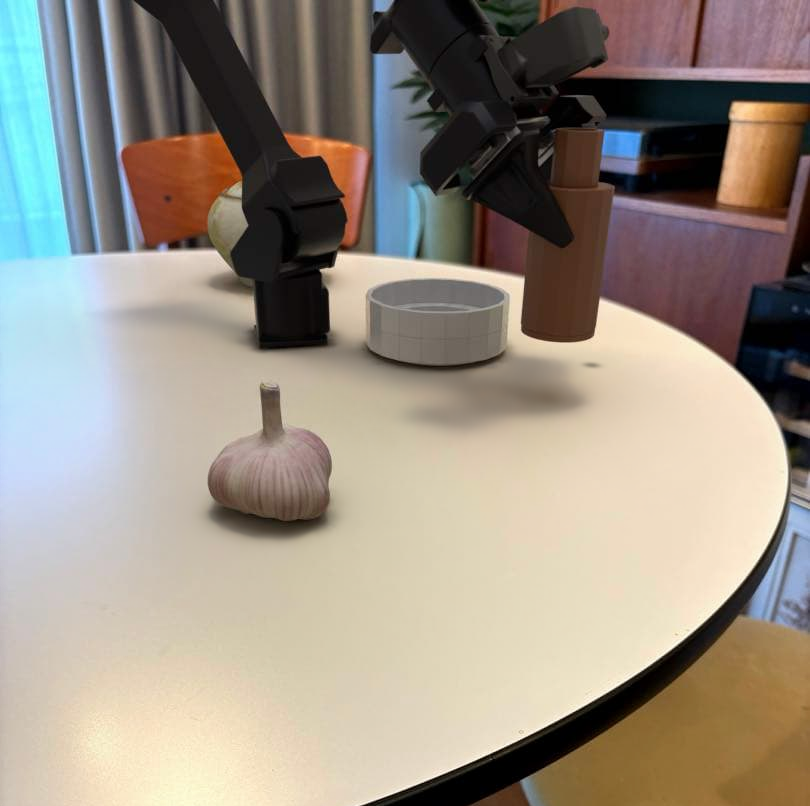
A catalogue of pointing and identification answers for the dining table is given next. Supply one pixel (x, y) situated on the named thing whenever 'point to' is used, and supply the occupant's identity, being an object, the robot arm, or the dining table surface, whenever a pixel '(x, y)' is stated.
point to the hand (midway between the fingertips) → (585, 237)
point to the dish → (437, 321)
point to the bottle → (570, 245)
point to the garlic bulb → (273, 468)
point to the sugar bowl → (228, 224)
